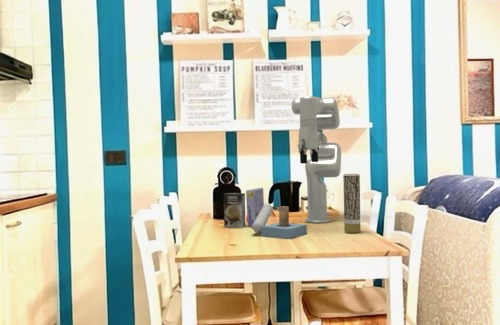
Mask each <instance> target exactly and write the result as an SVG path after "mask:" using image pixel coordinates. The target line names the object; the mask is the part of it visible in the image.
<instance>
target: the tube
mask: <svg viewBox="0 0 500 325" xmlns="http://www.w3.org/2000/svg"><path fill="white" fill-rule="evenodd" d="M273 211H274V207H273V206H272V205H271V204H269V203H264V205H263V206H262V209H261V211H260V212H259V214H258V216H257V218H256V219H255V221H254V223H253V224H252V227H251V229H252V230H253V232H255V233H260V234H261V227H262V226H266V225H267V222H268V220H269V219H270V216H271V214H272V213H273Z"/></svg>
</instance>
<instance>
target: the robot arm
mask: <svg viewBox="0 0 500 325" xmlns="http://www.w3.org/2000/svg"><path fill="white" fill-rule="evenodd" d="M291 110H292V113H293V114H294V115H299V130H298V144H297V148H298V152H299V157H300V158H299V159H300V161H299V164H304V168H305V176H306V186H307V187H306V188H307V217H306V218H304V222H305V223H310V224H324V223H325V224H326V223H330V222H331V219H330V218H329V217H328V216H330V215H331V213H330V212H329V211H328V204H327V203H328V201H327V200H328V199H327V198H328V197H327V185H326V183H325V182H324V181H323V178H337V177H339V176H340V174H341V169H342V149H341V146H340V144H339V143H338V142H328V138H327V136H326V134H324V133H323V131H321V130H335V129H338V128H339V127H340V124H341V123H340V121H341V120H340V113H339V105H338V102H337V100H336V99H335V97H318V96H311V95H309V96H308V95H307V96H306V95H305V96H301V97H295V98H294V99H293V100H292V102H291ZM308 150H309V158H310V159H308V154H307V152H308Z"/></svg>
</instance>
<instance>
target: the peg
mask: <svg viewBox="0 0 500 325" xmlns="http://www.w3.org/2000/svg"><path fill="white" fill-rule="evenodd" d="M278 207H279V208H278V215H279V216H278V220H279V221H278V222H279V226H280V227H288V226H289V223H290V219H289V218H290V215H289V214H290V212H289V211H290V210H289V208H290V207H289V206H285V205H283V206H281V205H280V206H278Z"/></svg>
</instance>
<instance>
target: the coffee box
mask: <svg viewBox="0 0 500 325" xmlns="http://www.w3.org/2000/svg"><path fill="white" fill-rule="evenodd" d="M223 227H224V228H225V229H230V228H231V229H244V228H245V227H246V192H245V193H244V192H242V193H241V192H226V193H223Z"/></svg>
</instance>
